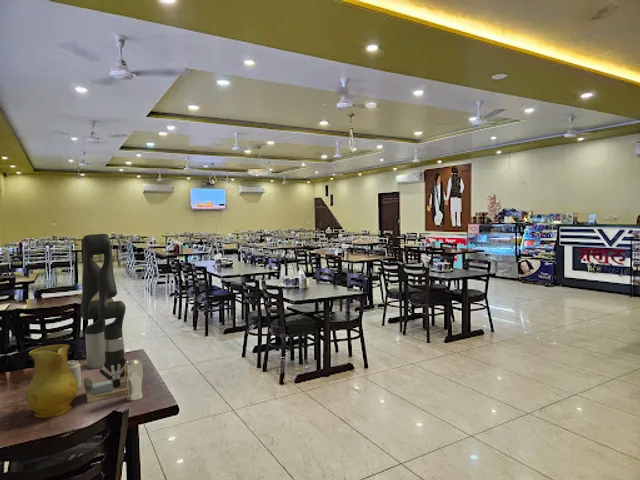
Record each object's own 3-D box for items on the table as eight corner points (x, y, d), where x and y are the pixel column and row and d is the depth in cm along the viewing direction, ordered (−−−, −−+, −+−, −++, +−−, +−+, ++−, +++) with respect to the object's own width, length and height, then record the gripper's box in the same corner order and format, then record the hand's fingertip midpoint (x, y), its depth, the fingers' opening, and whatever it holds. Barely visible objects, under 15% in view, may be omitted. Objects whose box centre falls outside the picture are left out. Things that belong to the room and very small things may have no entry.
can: (58, 390, 184) (56, 363, 183) (74, 384, 191) (73, 358, 190) (68, 393, 181) (66, 366, 180) (85, 387, 187) (83, 360, 187)
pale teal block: (90, 393, 181) (89, 384, 181) (110, 389, 186) (110, 380, 185) (91, 398, 176) (90, 389, 176) (112, 394, 180) (111, 384, 180)
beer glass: (126, 402, 172) (124, 366, 171) (125, 396, 178) (123, 361, 177) (144, 398, 175) (143, 363, 174) (143, 392, 181) (141, 358, 180)
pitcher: (21, 424, 154) (20, 356, 154) (32, 406, 171) (31, 344, 171) (75, 416, 161) (74, 350, 161) (81, 399, 178) (80, 339, 178)
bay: (84, 393, 181) (83, 376, 180) (126, 384, 190) (125, 368, 189) (85, 403, 172) (84, 385, 171) (130, 393, 180) (129, 376, 180)
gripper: (129, 342, 188) (131, 381, 189) (96, 348, 181) (98, 388, 182) (132, 347, 181) (134, 386, 183) (97, 353, 174) (100, 394, 176)
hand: (116, 387), depth 182 cm, fingers closed
